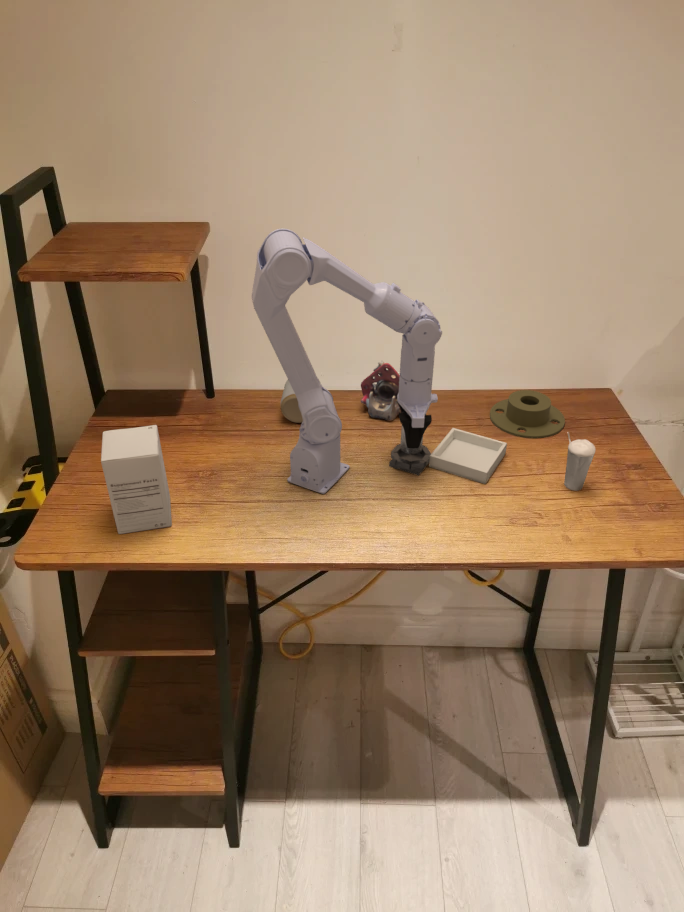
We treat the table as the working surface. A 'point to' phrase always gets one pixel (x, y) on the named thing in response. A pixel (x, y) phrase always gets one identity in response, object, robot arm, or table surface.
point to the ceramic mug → (290, 404)
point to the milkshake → (578, 463)
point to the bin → (468, 455)
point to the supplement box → (136, 479)
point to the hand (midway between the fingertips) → (411, 440)
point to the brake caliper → (382, 392)
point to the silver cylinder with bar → (404, 446)
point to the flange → (527, 415)
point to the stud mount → (410, 460)
